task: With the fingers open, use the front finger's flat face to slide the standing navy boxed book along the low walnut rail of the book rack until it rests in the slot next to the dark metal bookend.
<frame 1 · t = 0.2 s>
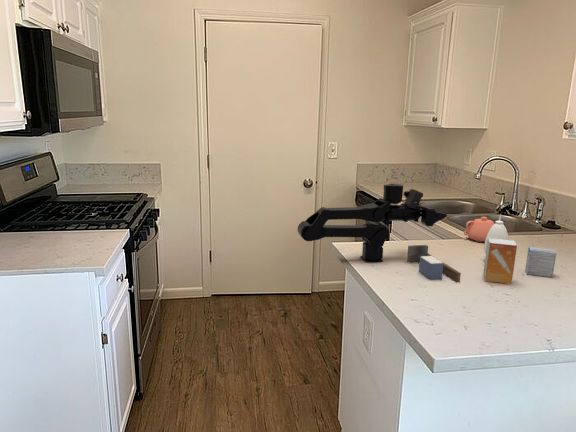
hand: (440, 213, 171), 17 cm above the worktop, tool horizontal, fingers open, 9 cm apart
sauce bottle: (494, 262, 170), on the worktop
boxed book: (430, 275, 154), on the worktop
sugar bowl: (479, 240, 200), on the worktop
medicine box: (538, 274, 158), on the worktop
small box: (497, 280, 151), on the worktop
book rack: (435, 270, 159), on the worktop
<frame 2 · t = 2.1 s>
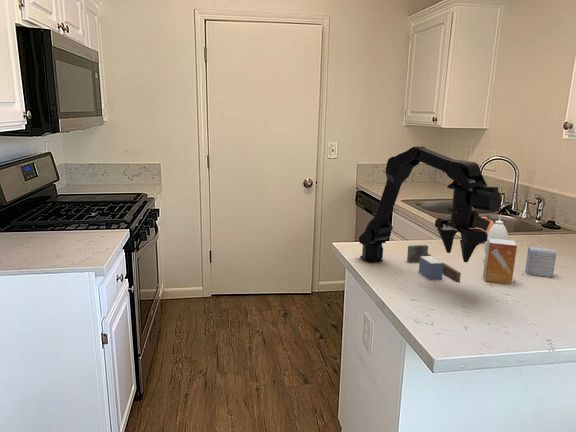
hand: (456, 257, 138), 11 cm above the worktop, tool pointing down, fingers open, 9 cm apart
nothing on the worktop moved.
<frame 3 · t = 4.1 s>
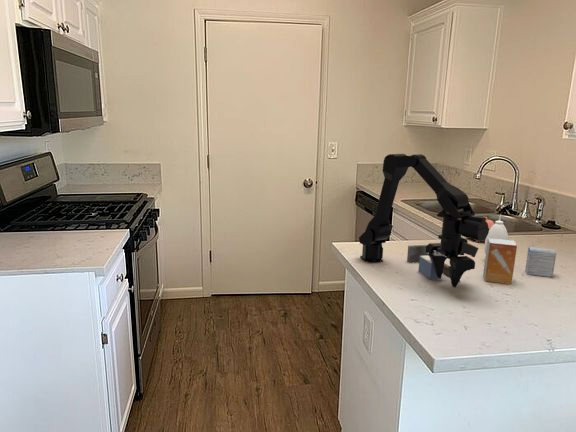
hand: (446, 282, 144), 1 cm above the worktop, tool pointing down, fingers open, 8 cm apart
boxed book: (429, 275, 154), on the worktop, touching gripper
everything else where it was.
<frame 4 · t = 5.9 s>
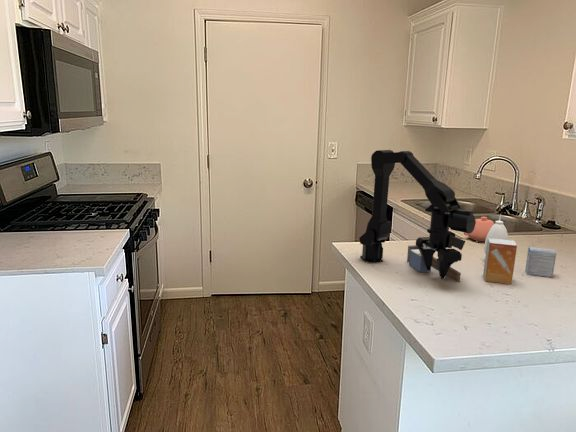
hand: (435, 274, 151), 2 cm above the worktop, tool pointing down, fingers open, 8 cm apart
boxed book: (419, 268, 161), on the worktop, touching gripper
everything else where it was.
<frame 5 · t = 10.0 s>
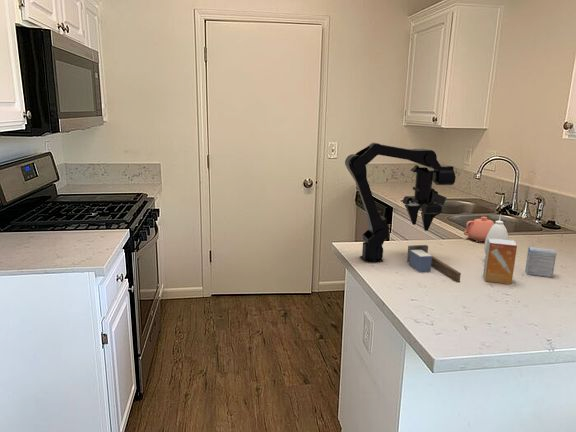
hand: (419, 227, 168), 12 cm above the worktop, tool pointing down, fingers open, 9 cm apart
boxed book: (419, 268, 161), on the worktop
everything else where it was.
at the end: boxed book inside the target area (0.5 cm from its centre), on the worktop; boxed book tilted 0°; boxed book moved 7.5 cm from its start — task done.
